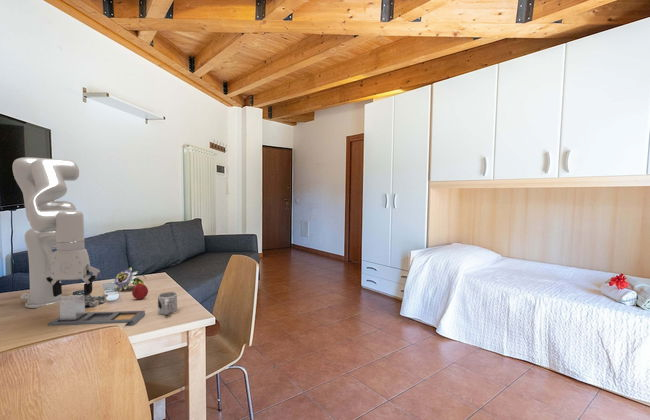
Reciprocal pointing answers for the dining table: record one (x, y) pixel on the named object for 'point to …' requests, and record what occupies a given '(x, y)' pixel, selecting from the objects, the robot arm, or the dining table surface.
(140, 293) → the onion
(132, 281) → the passion flower
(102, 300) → the egg carton
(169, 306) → the mug
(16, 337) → the dining table surface
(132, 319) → the rail
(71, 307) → the block
